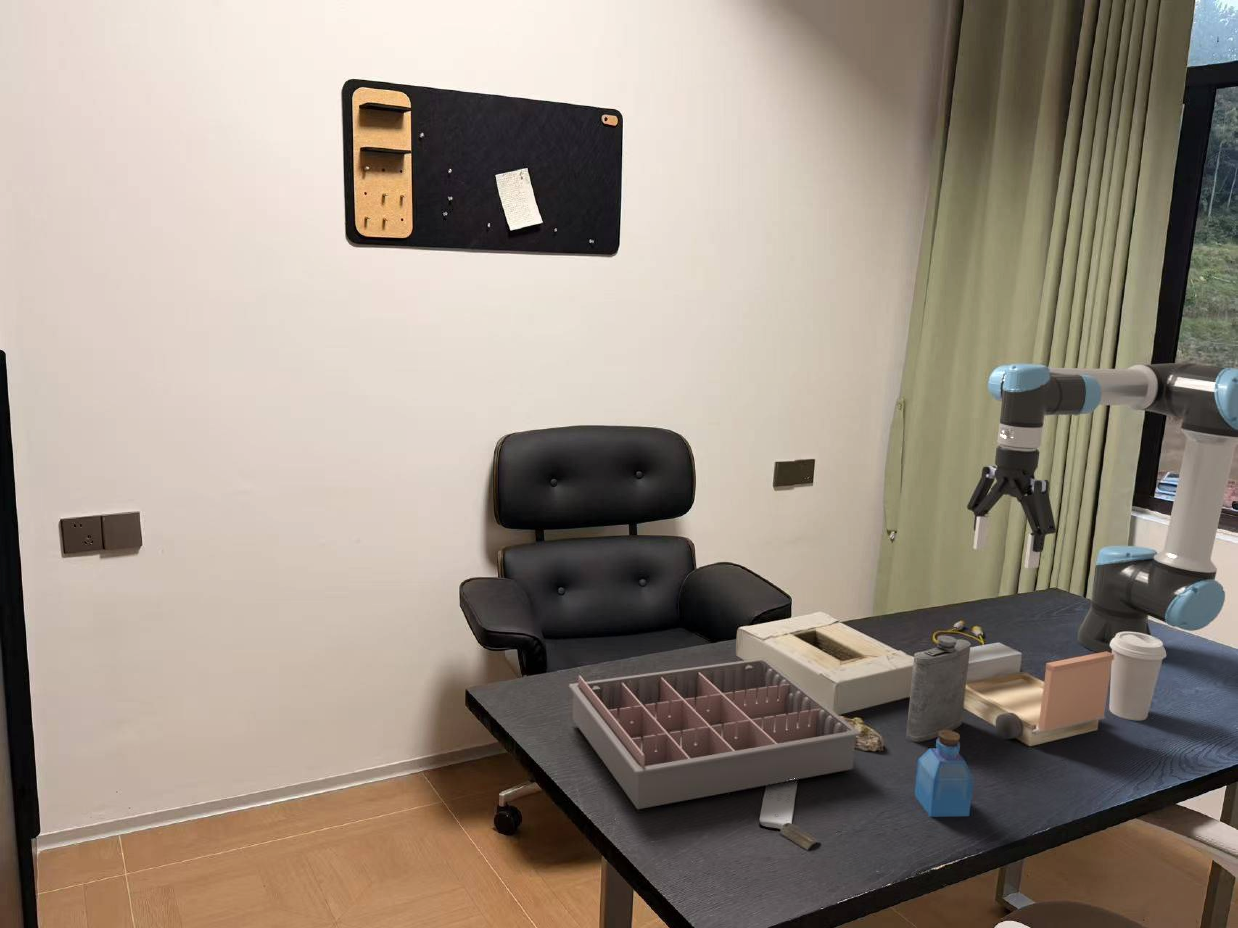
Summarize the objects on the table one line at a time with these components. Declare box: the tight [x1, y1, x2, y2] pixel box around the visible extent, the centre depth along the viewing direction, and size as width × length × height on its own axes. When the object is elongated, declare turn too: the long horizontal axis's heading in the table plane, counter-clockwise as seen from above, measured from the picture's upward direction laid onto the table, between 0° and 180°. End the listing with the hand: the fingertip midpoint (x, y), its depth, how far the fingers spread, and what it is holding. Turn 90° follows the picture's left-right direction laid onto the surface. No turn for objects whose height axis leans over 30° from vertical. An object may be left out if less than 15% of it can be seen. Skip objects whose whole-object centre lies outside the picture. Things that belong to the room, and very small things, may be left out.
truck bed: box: [963, 642, 1100, 747], centre depth 186 cm, size 24×21×8 cm
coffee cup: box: [1109, 632, 1167, 722], centre depth 185 cm, size 10×10×15 cm
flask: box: [905, 635, 972, 743], centre depth 175 cm, size 4×14×18 cm, turn 126°
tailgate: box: [1032, 651, 1114, 735], centre depth 173 cm, size 2×17×13 cm, turn 115°
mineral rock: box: [839, 715, 885, 753], centre depth 173 cm, size 11×4×8 cm
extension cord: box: [932, 620, 986, 645], centre depth 221 cm, size 12×16×2 cm
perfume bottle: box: [914, 730, 974, 818], centre depth 151 cm, size 6×6×12 cm
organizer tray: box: [568, 658, 862, 810], centre depth 166 cm, size 32×40×10 cm
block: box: [779, 822, 822, 852], centre depth 143 cm, size 4×6×2 cm, turn 39°
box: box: [735, 611, 914, 716], centre depth 199 cm, size 23×8×32 cm
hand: (1004, 557), depth 186 cm, fingers open, 12 cm apart
